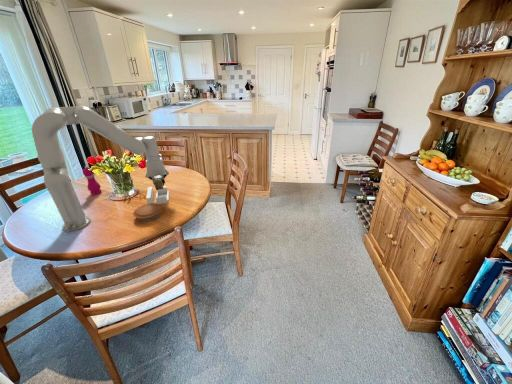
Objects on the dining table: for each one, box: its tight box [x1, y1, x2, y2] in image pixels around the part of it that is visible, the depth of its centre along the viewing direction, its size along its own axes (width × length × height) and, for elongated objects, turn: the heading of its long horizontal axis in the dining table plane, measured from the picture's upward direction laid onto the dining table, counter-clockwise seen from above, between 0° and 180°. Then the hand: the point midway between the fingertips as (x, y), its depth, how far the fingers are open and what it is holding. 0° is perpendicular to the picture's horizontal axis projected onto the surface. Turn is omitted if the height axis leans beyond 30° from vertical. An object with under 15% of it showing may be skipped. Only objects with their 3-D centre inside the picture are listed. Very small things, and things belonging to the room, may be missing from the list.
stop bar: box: [153, 175, 164, 191], centre depth 148 cm, size 11×4×6 cm, turn 18°
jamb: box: [145, 185, 170, 205], centre depth 151 cm, size 17×12×5 cm
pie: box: [132, 202, 164, 222], centre depth 133 cm, size 16×16×5 cm
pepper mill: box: [82, 165, 103, 196], centre depth 156 cm, size 7×7×20 cm
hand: (159, 184), depth 149 cm, fingers closed on stop bar, 4 cm apart
